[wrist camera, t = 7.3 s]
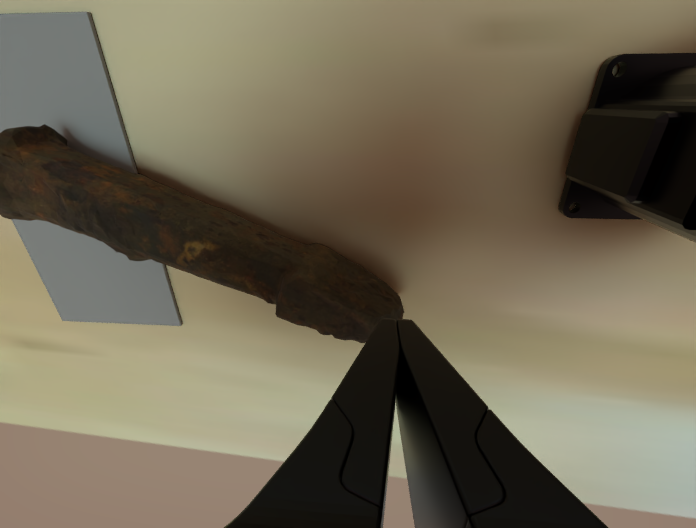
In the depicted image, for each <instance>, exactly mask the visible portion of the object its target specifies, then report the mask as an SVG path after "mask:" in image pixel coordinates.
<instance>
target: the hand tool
mask: <svg viewBox="0 0 696 528" xmlns="http://www.w3.org/2000/svg"><path fill="white" fill-rule="evenodd" d="M0 215H1V216H2V217H5V218H8V219H17V220H18V219H19V220H27V221H32V220H41V221H47V222H50V223H52V224H55V225H58V226H60V227H63V228H65V229H68V230H71V231H74V232H77V233H79V234H84V235H86V236H89V237H92V238H94V239H97V240H99V241H101V242H104V243H105V244H106V245H108V246H109V247H110V248H112V249H113V250H114V251H116V252H119V253H122V254H124V255H126V256H127V257H128V259H129V260H131V261H145V260H150V259H152V260H154V261H156V262H158V263H162V264H166V265H168V266H171V267H174V268H177V269H179V270H182V271H185V272H188V273H191V274H193V275H196V276H198V277H201V278H204V279H207V280H210V281H213V282H215V283H218V284H221V285H223V286H227V287H230V288H233V289H236V290H239V291H242V292H245V293H247V294H251V295H254V296H257V297H259V298H261V299H264V300H265V301H266V302H267V303H271V304H276V315H277V317H279V318H281V319H284V320H287V321H289V322H291V323H294V324H297V325H301V326H307V327H310V328H313V329H316V330H317V331H318V332H319V333H320V334H323V335H333V336H334V337H335V338H337V339H341V340H355V341H358V342H360V343H365V342H367V340H368V339H369V337H370V335H371V334H372V332H373V331H374V329H375V327H376V326H377V324H378V323H379V321H380V320H381V319H383V318H385V319H395V320H396V321H397V320H398V319H403V318H402V317H403V313H404V310H403V306H402V302H401V299H400V297H399V296H398V294H397V293H396V292H395V291H394V290H393V289H392V288H391V287H389V286H388V285H387V284H386V283H384V282H383V281H381V280H380V279H378V278H377V277H376V276H375V275H373V274H371V273H370V272H368V271H367V270H365V269H364V268H363V267H361V266H360V265H358V264H355V263H352V262H351V261H349V260H347V259H346V258H344V257H343V256H341V255H339V254H338V253H336V252H334V251H333V250H331V249H329V248H328V247H326V246H323V245H321V244H318V243H314V244H311V245H304V244H301V243H299V242H297V241H295V240H292V239H289V238H286V237H284V236H281V235H279V234H277V233H275V232H272V231H270V230H268V229H266V228H264V227H261V226H259V225H257V224H254V223H252V222H249V221H247V220H245V219H243V218H241V217H240V216H238V215H236V214H234V213H231V212H229V211H227V210H224V209H221V208H218V207H214V206H211V205H208V204H206V203H203V202H201V201H199V200H197V199H194V198H192V197H189V196H187V195H184V194H182V193H180V192H178V191H176V190H174V189H172V188H170V187H168V186H165V185H163V184H160V183H158V182H155V181H153V180H151V179H150V178H148V177H146V176H144V175H140V174H136V173H131V172H129V171H127V170H124V169H122V168H120V167H116V166H113V165H111V164H108V163H106V162H103V161H101V160H98V159H95V158H92V157H90V156H87V155H84V154H82V153H80V152H78V151H76V150H74V149H72V148H70V147H68V146H67V139H66V138H65V137H64V136H62V135H61V134H59V133H58V132H57V131H55V130H54V129H53V128H51V127H49V126H47V125H45V124H44V125H42V126H40V127H34V126H24V127H16V128H8V129H5V130H4V131H2V132H1V133H0Z"/></svg>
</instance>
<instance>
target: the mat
mask: <svg viewBox="0 0 696 528" xmlns="http://www.w3.org/2000/svg"><path fill="white" fill-rule="evenodd" d="M44 124H45V125H47V126H49V127H51V128H53V129H54V130H55V131H57V132H58V133H59V134H61V135H62V136H64V137H65V138H66V139H67V146H68V147H70V148H72V149H74V150H76V151H78V152H80V153H82V154H84V155H87V156H90V157H92V158H95V159H98V160H101V161H103V162H106V163H108V164H111V165H113V166H116V167H120V168H122V169H124V170H127V171H129V172H131V173H136V174H138V172H137V169H136V165H135V162H134V159H133V155H132V152H131V149H130V145H129V142H128V138H127V135H126V132H125V128H124V125H123V122H122V118H121V115H120V111H119V108H118V105H117V101H116V98H115V94H114V91H113V88H112V84H111V81H110V78H109V74H108V71H107V67H106V64H105V61H104V57H103V54H102V50H101V47H100V44H99V40H98V37H97V34H96V30H95V27H94V23H93V20H92V17H91V13H89V12H56V13H15V14H0V133H1V132H2V131H4V130H5V129H8V128H16V127H24V126H34V127H40V126H42V125H44ZM12 221H13V223H14V225H15V227H16V229H17V231H18V233H19V235H20V237H21V239H22V241H23V243H24V245H25V247H26V249H27V251H28V253H29V255H30V257H31V259H32V261H33V263H34V265H35V267H36V269H37V271H38V273H39V275H40V277H41V279H42V281H43V283H44V285H45V287H46V289H47V291H48V293H49V295H50V297H51V299H52V301H53V303H54V305H55V307H56V309H57V311H58V313H59V315H60V317H61V319H62V321H79V322H101V323H124V324H147V325H170V326H181V325H182V321H181V318H180V314H179V311H178V308H177V304H176V301H175V297H174V294H173V291H172V287H171V284H170V281H169V277H168V274H167V270H166V267H165V264H162V263H158V262H156V261H154V260H152V259H150V260H145V261H131V260H129V259H128V257H127V256H126V255H124V254H122V253H119V252H116V251H114V250H113V249H112V248H110V247H109V246H108V245H106V244H105V243H104V242H101V241H99V240H97V239H94V238H92V237H89V236H86V235H84V234H79V233H77V232H74V231H71V230H68V229H65V228H63V227H60V226H58V225H55V224H52V223H50V222H47V221H41V220H32V221H27V220H19V219H18V220H17V219H12Z"/></svg>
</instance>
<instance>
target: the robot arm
mask: <svg viewBox="0 0 696 528" xmlns="http://www.w3.org/2000/svg"><path fill="white" fill-rule="evenodd" d="M617 63H618V64H619V65H620V71H619V72H618V74H617V75H616V76H614V75H613V74H612V71H613V68H614V66H615V65H616V64H617ZM566 175H567V180H566V183H565V187H564V190H563V193H562V197H561V200H560V203H559V211H560V213H562V214H563V215H565V216H566V217H569V218H597V219H644V220H646V221H648V222H651V223H653V224H655V225H657V226H660V227H662V228H664V229H666V230H669V231H671V232H673V233H675V234H678V235H680V236H682V237H684V238H687V239H689V240H691V241H694V242H696V53H661V54H622V55H617V56H612V57H610V58H609V59H607V60H606V61H605V62H604V63H603V65H602V66H601V69H600V71H599V74H598V77H597V81H596V84H595V87H594V91H593V94H592V97H591V101H590V104H589V107H588V111H587V112H586V113H585V114H584V115H583V116H582V119H581V123H580V126H579V130H578V133H577V136H576V140H575V143H574V146H573V150H572V153H571V156H570V160H569V163H568V167H567V170H566ZM575 202H576V206H575V207H574V208H573V209H572V210H569V206H570V205H571V204H572V203H575ZM395 401H396V406H397V414H398V420H399V427H400V433H401V440H402V447H403V453H404V460H405V466H406V473H407V479H408V485H409V492H410V498H411V505H412V512H413V519H414V525H415V528H608V527H607V526H606V525H605V524H604V523H603V522H602V521H601V520H600V519H599V518H598V517H597V516H596V515H595V514H594V513H593V512H591V510H589V509H588V508H587V507H586V506H585V505H584V504H583V503H582V502H581V501H580V500H579V499H578V498H577V497H576V496H575V495H574V494H573V493H572V492H571V491H570V490H569V489H568V488H566V487H565V486H564V485H563V484H562V483H561V482H560V481H559V480H558V479H557V478H556V477H555V476H554V475H553V474H552V473H551V472H550V471H549V470H548V469H547V468H546V467H545V466H544V465H543V464H542V463H541V462H540V461H539V460H538V459H537V458H535V457H534V456H533V455H532V454H531V453H530V452H529V451H528V450H527V449H526V448H525V447H524V446H523V445H522V444H521V443H520V441H519V440H518V439H517V438H516V437H515V436H514V435H513V434H512V433H511V432H510V431H509V430H508V428H507V427H506V426H505V425H504V424H503V423H502V422H501V421H500V420H499V418H498V417H497V416H496V415H495V414H494V413H493V412H492V410H490V409H489V408H488V406H487V405H486V404H485V403H484V402H483V400H482V399H481V398H480V397H479V396H478V395H477V394H476V392H475V391H474V390H473V389H472V388H471V387H470V386H469V384H468V383H467V382H466V381H465V380H464V379H463V378H462V376H461V375H460V374H459V373H458V372H457V371H456V370H455V368H454V367H453V366H452V365H451V364H450V363H449V362H448V360H447V359H446V358H445V357H444V356H443V355H442V354H441V352H440V351H439V350H438V349H437V348H436V347H435V346H434V344H433V343H432V342H431V341H430V340H429V339H428V338H427V336H426V335H425V334H424V333H423V332H422V331H421V330H420V328H419V327H418V326H417V325H416V324H415V323H414V322H413V321H412V320H408V319H398V320H397V321H396V320H395V319H385V318H383V319H381V320H380V321H379V323H378V324H377V326H376V327H375V329H374V331H373V332H372V334H371V335H370V337H369V339H368V340H367V342H366V343H365V345H364V347H363V348H362V350H361V351H360V353H359V355H358V356H357V358H356V359H355V361H354V363H353V364H352V366H351V367H350V369H349V371H348V372H347V374H346V375H345V377H344V379H343V380H342V382H341V383H340V385H339V386H338V388H337V390H336V391H335V393H334V394H333V396H332V398H331V400H330V401H329V402H328V404H327V405H326V407H325V409H324V410H323V412H322V413H321V415H320V416H319V418H318V419H317V421H316V422H315V424H314V425H313V426H312V428H311V429H310V431H309V432H308V433H307V434H306V436H305V437H304V438H303V440H302V441H301V442H300V443H299V445H298V446H297V447H296V448H295V450H294V451H293V452H292V453H291V455H290V456H289V457H288V458H287V459H286V461H285V462H284V463H283V464H282V465H281V467H280V468H279V469H278V470H277V471H276V473H275V474H274V475H273V476H272V478H271V479H270V480H269V481H268V482H267V484H266V485H265V486H264V487H263V488H262V490H261V491H260V492H259V493H258V494H257V495H256V497H255V498H254V499H253V500H252V501H251V502H250V504H249V505H248V506H247V507H246V508H245V509H244V510H243V511H242V512H241V513H240V514H239V515H238V516H237V517H236V518H235V519H234V520H233V521H232V522H230V523H229V524H228V525H226V526H225V527H224V528H383V521H384V511H385V501H386V491H387V481H388V471H389V461H390V451H391V441H392V431H393V422H394V412H395ZM488 409H489V410H488Z"/></svg>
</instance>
